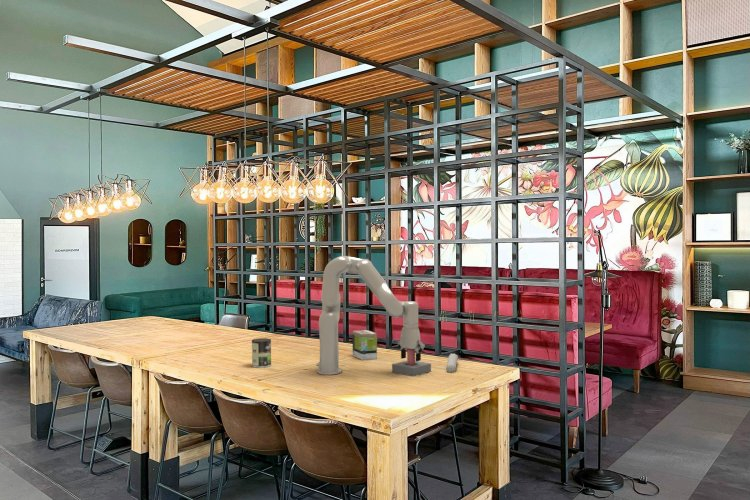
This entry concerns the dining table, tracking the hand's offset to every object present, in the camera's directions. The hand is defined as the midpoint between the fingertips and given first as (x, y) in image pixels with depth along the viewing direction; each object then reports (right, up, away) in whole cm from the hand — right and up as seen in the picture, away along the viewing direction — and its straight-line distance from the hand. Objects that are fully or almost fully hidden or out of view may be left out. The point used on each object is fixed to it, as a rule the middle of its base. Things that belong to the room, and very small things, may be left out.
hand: (410, 359), depth 293 cm
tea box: (-24, -6, +38) cm, 46 cm away
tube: (+22, -6, +9) cm, 25 cm away
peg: (0, -6, 0) cm, 6 cm away
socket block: (0, -6, 0) cm, 6 cm away
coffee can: (-79, -7, +19) cm, 82 cm away
